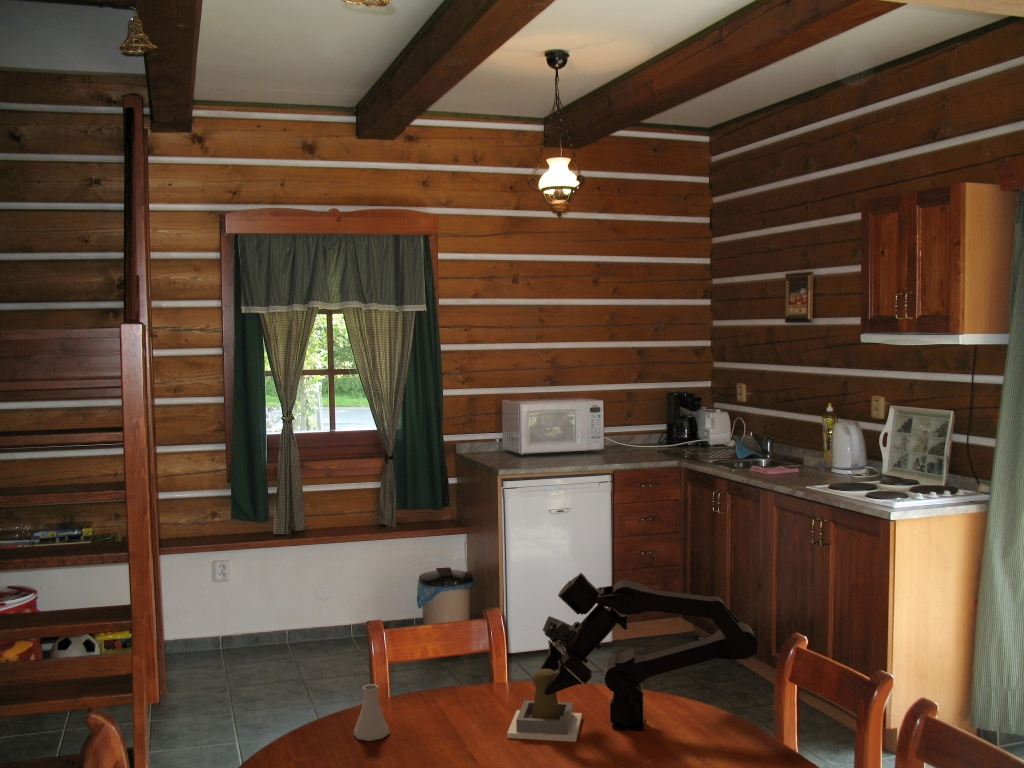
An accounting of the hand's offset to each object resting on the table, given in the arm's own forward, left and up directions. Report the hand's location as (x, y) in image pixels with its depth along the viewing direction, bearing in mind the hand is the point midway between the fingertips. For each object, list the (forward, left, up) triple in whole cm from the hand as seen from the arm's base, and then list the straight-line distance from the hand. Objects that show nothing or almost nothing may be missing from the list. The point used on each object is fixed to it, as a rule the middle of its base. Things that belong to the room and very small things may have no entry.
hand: (541, 685), depth 191 cm
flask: (+34, +8, -9) cm, 37 cm away
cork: (-1, 0, -8) cm, 8 cm away
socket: (-1, 0, -9) cm, 9 cm away
